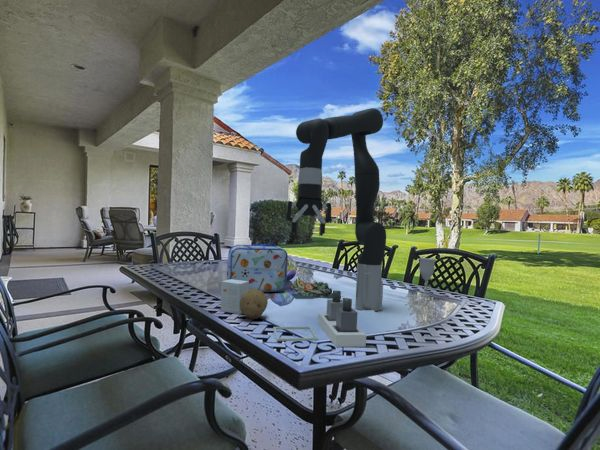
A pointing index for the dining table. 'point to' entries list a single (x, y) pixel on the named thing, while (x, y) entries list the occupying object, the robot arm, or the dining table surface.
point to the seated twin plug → (334, 306)
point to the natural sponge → (253, 303)
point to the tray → (295, 338)
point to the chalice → (426, 272)
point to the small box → (232, 295)
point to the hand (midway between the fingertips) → (307, 235)
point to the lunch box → (258, 266)
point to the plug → (346, 317)
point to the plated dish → (311, 290)
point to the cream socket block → (342, 334)
